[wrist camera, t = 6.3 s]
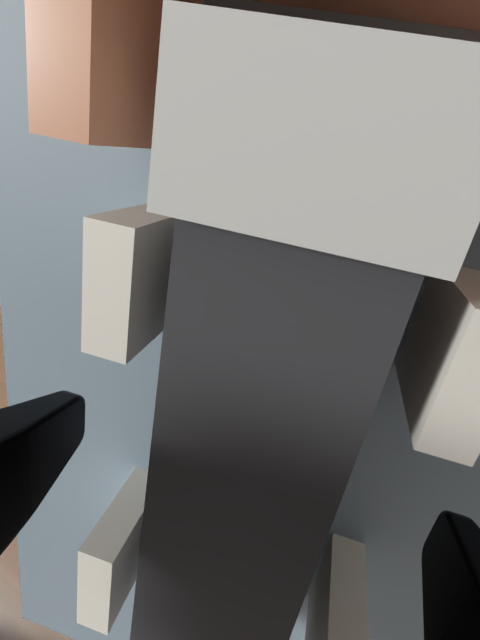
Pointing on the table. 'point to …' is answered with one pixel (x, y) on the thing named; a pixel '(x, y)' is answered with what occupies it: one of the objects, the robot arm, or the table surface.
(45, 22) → the end holder
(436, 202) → the rod
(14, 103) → the board
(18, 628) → the table surface
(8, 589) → the table surface
